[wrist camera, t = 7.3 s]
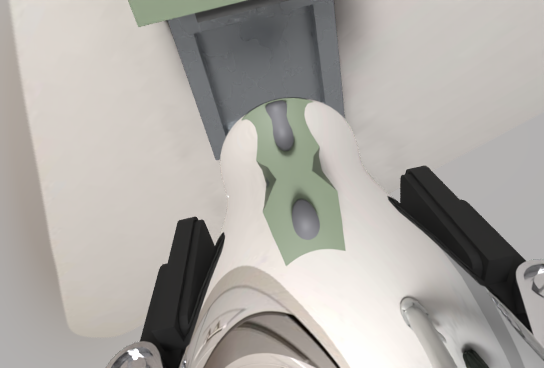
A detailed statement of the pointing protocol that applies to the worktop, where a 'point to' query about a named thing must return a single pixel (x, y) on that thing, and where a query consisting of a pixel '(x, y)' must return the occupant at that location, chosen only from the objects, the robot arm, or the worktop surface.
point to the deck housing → (191, 9)
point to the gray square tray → (259, 60)
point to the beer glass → (334, 264)
